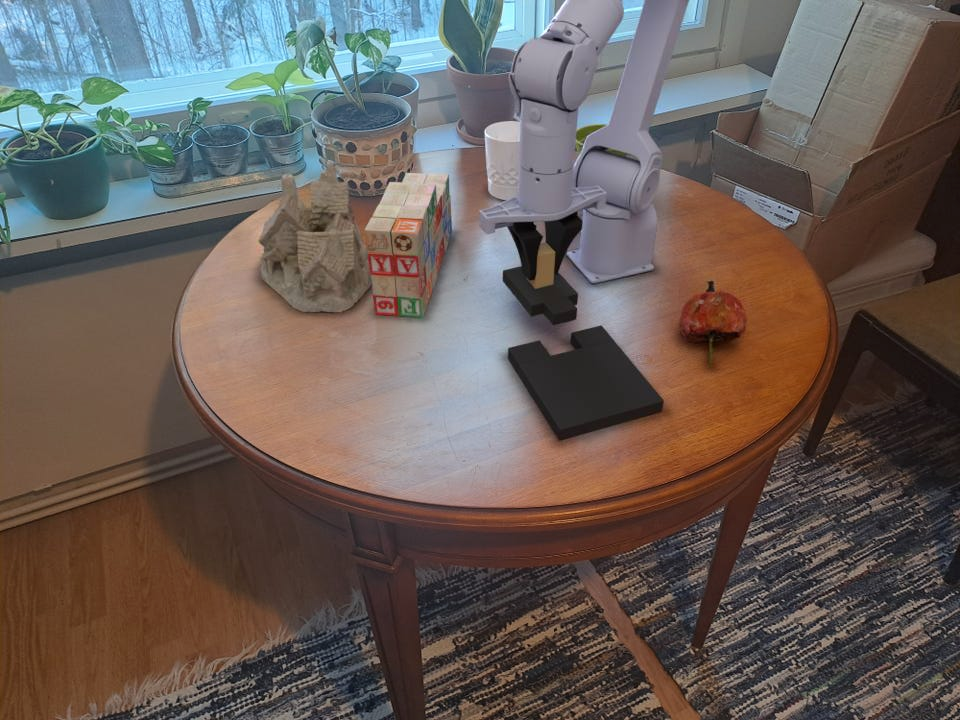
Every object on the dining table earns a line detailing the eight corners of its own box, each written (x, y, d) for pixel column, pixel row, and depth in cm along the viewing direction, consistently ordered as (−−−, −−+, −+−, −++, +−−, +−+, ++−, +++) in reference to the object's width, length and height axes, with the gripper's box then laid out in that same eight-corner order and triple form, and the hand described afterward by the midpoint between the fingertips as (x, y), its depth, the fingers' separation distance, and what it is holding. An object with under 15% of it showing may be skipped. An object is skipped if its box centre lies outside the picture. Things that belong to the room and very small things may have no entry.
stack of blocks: (411, 230, 105) (404, 151, 97) (452, 233, 104) (449, 153, 96) (374, 315, 89) (363, 228, 81) (423, 319, 88) (417, 231, 80)
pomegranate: (740, 374, 83) (748, 294, 85) (745, 359, 76) (753, 272, 78) (675, 368, 85) (684, 289, 87) (673, 352, 78) (684, 268, 80)
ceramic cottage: (278, 241, 102) (258, 145, 92) (389, 255, 100) (380, 158, 90) (233, 309, 91) (204, 208, 81) (356, 326, 89) (342, 225, 79)
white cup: (488, 179, 118) (488, 119, 111) (535, 181, 117) (538, 122, 110) (481, 201, 112) (481, 140, 105) (531, 204, 111) (534, 142, 104)
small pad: (588, 316, 81) (593, 272, 77) (541, 329, 79) (543, 284, 75) (546, 270, 88) (548, 227, 84) (502, 281, 86) (502, 238, 82)
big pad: (661, 411, 75) (664, 400, 74) (559, 441, 72) (560, 429, 71) (600, 335, 85) (601, 325, 84) (507, 358, 82) (507, 347, 81)
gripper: (588, 137, 79) (578, 243, 87) (467, 160, 74) (469, 269, 83) (621, 162, 74) (607, 272, 82) (494, 187, 69) (494, 301, 78)
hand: (540, 273), depth 82 cm, fingers closed on small pad, 2 cm apart
